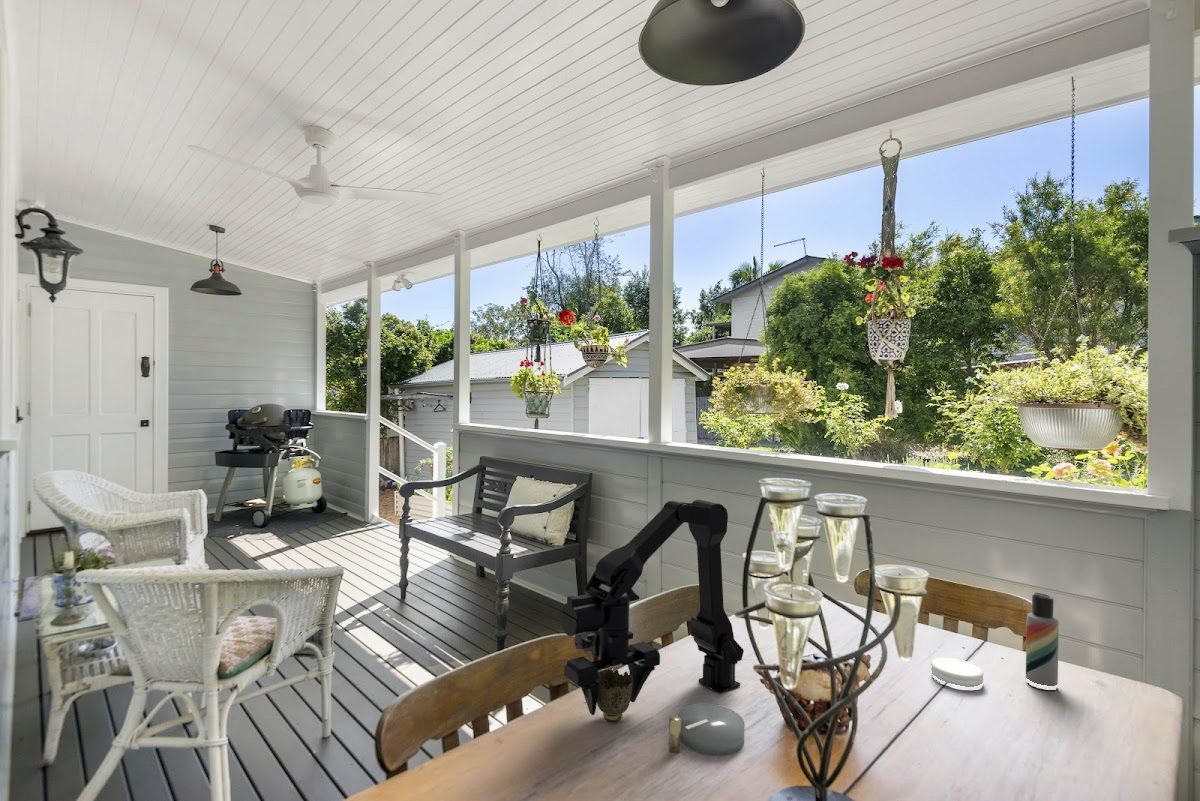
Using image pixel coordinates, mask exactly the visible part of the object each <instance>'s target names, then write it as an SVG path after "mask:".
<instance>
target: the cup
mask: <svg viewBox="0 0 1200 801" xmlns="http://www.w3.org/2000/svg"><path fill="white" fill-rule="evenodd" d="M619 672H620V671H619V670H618V669H614V670H612V669H607V670H605V672H604V671H600V673H598V679H597V680H596V682H597V683H599V690H598V697H597V705H596V706H597V707H598V709H599V710H600V711H601V712H602V713H603V714H602V716H603V719H604V720H605V721H606V722H607V723H611V724H616V723H619V722H621V720H622V719H623V713H625V712H626V711H627V709H628V708H629V706H630V703H631V701H630V699H631V693H632V685H633V681H632V680H633V679H632V674H630V675H629V673H628V671H625V672H623V674H622V673H621V674H620V673H619Z"/></svg>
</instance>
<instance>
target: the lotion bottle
mask: <svg viewBox="0 0 1200 801" xmlns="http://www.w3.org/2000/svg"><path fill="white" fill-rule="evenodd" d="M1031 600H1032V601H1031V606H1032V607H1031V612H1028V613H1027V614H1026V623H1025V624H1026V628H1025V629H1026V632H1025V635H1026V636H1025V638H1026V639H1025V679H1026V678H1027V679H1029V680H1030V681H1032V682H1034V683H1037V684H1041V685H1047V686H1055V685H1057V684H1058V683H1059V634H1060V633H1059V631H1060V630H1059V629H1060V627H1059V625H1060V623H1059V622H1060V621H1059V618H1057V617H1055V616H1054V603H1055V602H1054V598H1053V597H1052V596H1051V595H1049V594H1045V593H1040V592H1034V593H1033V594H1032V595H1031ZM1058 685H1059V684H1058Z"/></svg>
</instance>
